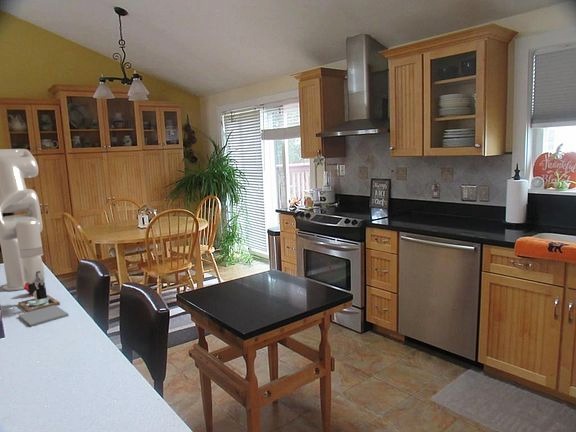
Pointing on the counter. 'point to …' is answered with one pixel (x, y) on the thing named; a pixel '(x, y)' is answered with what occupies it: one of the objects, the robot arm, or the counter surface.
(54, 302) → the pocket frame
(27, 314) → the slate mat
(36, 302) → the pacifier
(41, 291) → the robot arm
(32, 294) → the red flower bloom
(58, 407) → the counter surface
